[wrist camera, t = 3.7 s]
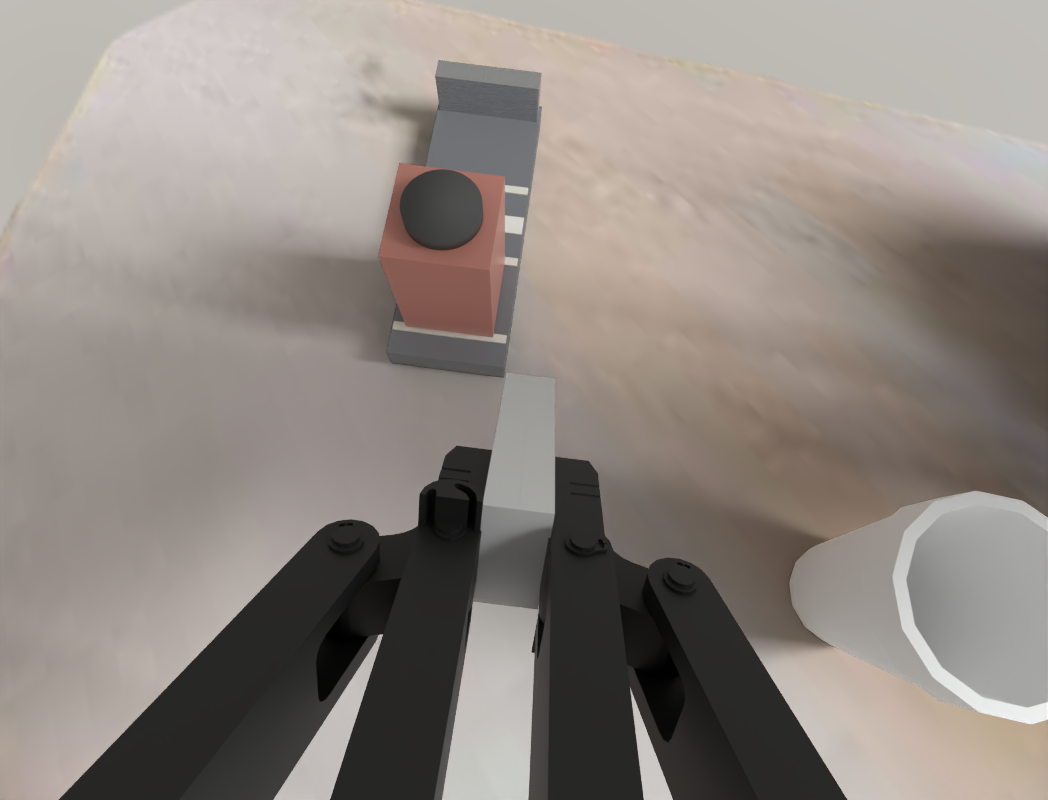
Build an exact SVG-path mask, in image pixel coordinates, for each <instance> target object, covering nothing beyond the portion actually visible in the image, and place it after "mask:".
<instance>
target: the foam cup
mask: <svg viewBox="0 0 1048 800" xmlns="http://www.w3.org/2000/svg"><path fill="white" fill-rule="evenodd" d="M789 586H790V593H791V601H792V606H793V608H794V610H795V611H796V613H797V615H798V616H799V618H800V620H801V622H802V623H803V625H804V627H806V628H807V629H808V630H809V631H811V632H812V633H813V634H815V635H816V636H817V637H819V638H820V639H821V640H823V641H824V642H827V643H828V644H830V645H832V646H834V647H836V648H838V649H840V650H842V651H845V652H847V653H849V654H851V655H853V656H855V657H857V658H859V659H862V660H864V661H866V662H868V663H870V664H872V665H874V666H876V667H878V668H881V669H883V670H885V671H887V672H889V673H891V674H893V675H895V676H898V677H900V678H902V679H904V680H906V681H908V682H910V683H912V684H915V685H917V686H919V687H921V688H922V689H924V690H925V691H926V692H928V693H929V694H930V695H932V696H933V697H934V698H936V699H937V700H938V701H941V702H945V703H948V704H952V705H955V706H959V707H963V708H966V709H970V710H973V711H977V712H980V713H985V714H989V715H993V716H998V717H1002V718H1006V719H1011V720H1015V721H1019V722H1024V723H1028V724H1034V723H1037V722H1041V721H1044V720H1048V517H1046V516H1045V515H1043V514H1042V513H1040V512H1039V511H1037V510H1036V509H1034V508H1033V507H1031V506H1030V505H1029V504H1027V503H1026V502H1024V501H1022V500H1017V499H1012V498H1008V497H1003V496H999V495H994V494H990V493H985V492H980V491H971V492H966V493H961V494H955V495H950V496H945V497H939V498H935V499H931V500H928V501H924V502H920V503H916V504H912V505H908V506H904V507H900V508H899V509H898V510H897V511H896V512H895V513H894V514H893V515H892V516H889V517H886V518H884V519H881V520H879V521H876V522H874V523H871V524H869V525H866V526H864V527H861V528H859V529H856V530H853V531H851V532H848V533H846V534H843V535H841V536H838V537H836V538H833V539H831V540H828V541H826V542H823V543H821V544H818V545H815V546H814V547H812V548H809V549H808V550H807V551H806V552H805V553H804V554H803V555H802V556H801V557H800V558H799V559H798V560H797V561H796V562H795V565H794V568H793V571H792V575H791V578H790V581H789Z"/></svg>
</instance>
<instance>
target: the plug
mask: <svg viewBox="0 0 1048 800" xmlns="http://www.w3.org/2000/svg"><path fill="white" fill-rule="evenodd" d="M378 257H379V259H380V262H381V264H382V267H383V269H384V272H385V274H386V277H387V279H388V282H389V285H390V287H391V290H392V292H393V295H394V297H395V300H396V302H397V305H398V307H399V310H400V312H401V315H402V317H403V320H404V322H405V325H406V326H410V327H418V328H425V329H433V330H441V331H449V332H457V333H464V334H472V335H480V336H488V337H493V335H494V329H495V322H496V316H497V309H498V303H499V296H500V290H501V283H502V277H503V270H504V264H505V176H498V175H490V174H482V173H474V172H466V171H458V170H450V169H442V168H434V167H426V166H418V165H410V164H402V163H399V167H398V171H397V176H396V180H395V185H394V189H393V193H392V198H391V202H390V207H389V211H388V215H387V220H386V224H385V229H384V233H383V237H382V242H381V246H380V251H379V255H378Z"/></svg>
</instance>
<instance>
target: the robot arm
mask: <svg viewBox="0 0 1048 800" xmlns="http://www.w3.org/2000/svg"><path fill="white" fill-rule="evenodd" d="M473 601H475V602H483V603H491V604H500V605H508V606H516V607H524V608H532V609H538V606H539V614H538V619H537V625H536V630H535V636H534V641H533V647H532V652H533V653H535V661H534V685H533V709H532V733H531V756H530V780H529V800H644V799H643V791H642V782H641V774H640V766H639V758H638V750H637V742H636V734H635V725H634V717H633V709H632V701H631V693H630V688H631V690H632V693H633V695H634V698H635V701H636V703H637V706H638V709H639V711H640V714H641V716H642V719H643V722H644V724H645V727H646V730H647V732H648V735H649V737H650V740H651V743H652V745H653V748H654V751H655V753H656V756H657V758H658V761H659V764H660V766H661V769H662V771H663V774H664V777H665V779H666V782H667V785H668V787H669V790H670V792H671V795H672V798H673V800H847V798H846V797H845V795H844V794H843V792H842V790H841V789H840V787H839V786H838V784H837V782H836V781H835V779H834V778H833V776H832V774H831V773H830V771H829V770H828V768H827V766H826V765H825V763H824V762H823V760H822V758H821V757H820V755H819V754H818V752H817V750H816V749H815V747H814V746H813V744H812V742H811V741H810V739H809V738H808V736H807V734H806V733H805V731H804V730H803V728H802V726H801V725H800V723H799V722H798V720H797V718H796V717H795V715H794V714H793V712H792V710H791V709H790V707H789V706H788V704H787V702H786V701H785V699H784V697H783V696H782V694H781V693H780V691H779V689H778V688H777V686H776V685H775V683H774V681H773V680H772V678H771V677H770V675H769V673H768V672H767V670H766V669H765V667H764V665H763V664H762V662H761V661H760V659H759V657H758V656H757V654H756V653H755V651H754V649H753V648H752V646H751V645H750V643H749V641H748V640H747V638H746V637H745V635H744V633H743V632H742V630H741V629H740V627H739V625H738V624H737V622H736V621H735V619H734V617H733V616H732V614H731V613H730V611H729V609H728V608H727V606H726V605H725V603H724V601H723V600H722V598H721V597H720V595H719V593H718V592H717V590H716V589H715V587H714V585H713V584H712V582H711V580H710V579H709V578H708V577H707V576H706V574H705V573H704V572H703V571H702V570H701V569H699V568H698V567H696V566H695V565H693V564H692V563H689V562H686V561H684V560H681V559H675V558H664V559H659V560H656V561H655V562H654V563H652V564H651V565H650V567H649V569H648V568H645V567H643V566H640V565H637V564H635V563H632V562H630V561H628V560H626V559H624V558H622V557H621V556H619V555H618V554H616V553H615V552H614V551H613V548H612V546H611V543H610V541H609V540H608V539H607V538H606V537H605V534H604V525H603V516H602V507H601V499H600V490H599V481H598V473H597V472H596V470H595V469H594V468H593V466H592V465H591V464H590V462H589V461H584V460H576V459H568V458H560V457H555V378H547V377H539V376H531V375H524V374H516V373H508V372H507V373H506V378H505V384H504V389H503V395H502V400H501V406H500V411H499V417H498V422H497V428H496V433H495V438H494V444H493V449H492V450H486V449H478V448H470V447H462V446H456V447H455V448H454V449H452V450H451V451H450V452H449V453H448V454H447V455H446V456H445V459H444V462H443V466H442V470H441V472H440V475H439V480H438V481H435V482H432V483H431V484H429V485H427V486H426V487H424V489H423V490H422V491H421V493H420V498H419V522H418V526H417V527H416V528H414V529H412V530H410V531H407V532H404V533H400V534H395V535H386V536H379V533H378V532H377V530H376V529H375V528H374V527H373V526H372V525H370V524H368V523H366V522H364V521H358V520H342V521H337V522H334V523H331V524H328V525H326V526H325V527H323V528H322V529H321V530H319V531H318V532H317V533H316V534H315V535H314V536H313V537H312V538H311V539H310V540H309V541H308V542H307V543H306V544H305V545H304V546H303V547H302V548H301V549H300V550H299V551H298V553H297V554H296V555H295V556H294V557H293V558H292V559H291V560H290V561H289V562H288V563H287V564H286V565H285V566H284V567H283V568H282V569H281V570H280V571H279V572H278V573H277V574H276V575H275V576H274V577H273V578H272V579H271V580H270V582H269V583H268V584H267V585H266V586H265V587H264V588H263V589H262V590H261V591H260V592H259V593H258V594H257V595H256V596H255V597H254V598H253V599H252V600H251V601H250V602H249V603H248V604H247V605H246V606H245V607H244V608H243V609H242V611H241V612H240V613H239V614H238V615H237V616H236V617H235V618H234V619H233V620H232V621H231V622H230V623H229V624H228V625H227V626H226V627H225V628H224V629H223V630H222V631H221V632H220V633H219V634H218V635H217V636H216V637H215V638H214V640H213V641H212V642H211V643H210V644H209V645H208V646H207V647H206V648H205V649H204V650H203V651H202V652H201V653H200V654H199V655H198V656H197V657H196V658H195V659H194V660H193V661H192V662H191V663H190V664H189V665H188V666H187V667H186V669H185V670H184V671H183V672H182V673H181V674H180V675H179V676H178V677H177V678H176V679H175V680H174V681H173V682H172V683H171V684H170V685H169V686H168V687H167V688H166V689H165V690H164V691H163V692H162V693H161V694H160V695H159V696H158V698H157V699H156V700H155V701H154V702H153V703H152V704H151V705H150V706H149V707H148V708H147V709H146V710H145V711H144V712H143V713H142V714H141V715H140V716H139V717H138V718H137V719H136V720H135V721H134V722H133V723H132V724H131V725H130V727H129V728H128V729H127V730H126V731H125V732H124V733H123V734H122V735H121V736H120V737H119V738H118V739H117V740H116V741H115V742H114V743H113V744H112V745H111V746H110V747H109V748H108V749H107V750H106V751H105V752H104V753H103V754H102V756H101V757H100V758H99V759H98V760H97V761H96V762H95V763H94V764H93V765H92V766H91V767H90V768H89V769H88V770H87V771H86V772H85V773H84V774H83V775H82V776H81V777H80V778H79V779H78V780H77V781H76V782H75V783H74V785H73V786H72V787H71V788H70V789H69V790H68V791H67V792H66V793H65V794H64V795H63V796H62V797H61V798H60V799H59V800H273V799H274V798H275V796H276V795H277V793H278V791H279V790H280V788H281V787H282V785H283V784H284V782H285V781H286V779H287V778H288V776H289V775H290V773H291V771H292V770H293V768H294V767H295V765H296V764H297V762H298V761H299V759H300V758H301V756H302V754H303V753H304V751H305V750H306V748H307V747H308V745H309V744H310V742H311V741H312V739H313V738H314V736H315V734H316V733H317V731H318V730H319V728H320V727H321V725H322V724H323V722H324V721H325V719H326V717H327V716H328V714H329V713H330V711H331V710H332V708H333V707H334V705H335V704H336V702H337V701H338V699H339V697H340V696H341V694H342V693H343V691H344V690H345V688H346V687H347V685H348V684H349V682H350V681H351V679H352V677H353V676H354V674H355V673H356V671H357V670H358V668H359V667H360V665H361V664H362V662H363V660H364V659H365V657H366V656H367V654H368V653H369V651H370V650H371V648H372V647H373V645H374V644H375V642H376V640H377V637H378V635H379V634H383V637H382V640H381V643H380V646H379V649H378V653H377V656H376V659H375V662H374V665H373V668H372V671H371V674H370V677H369V681H368V684H367V687H366V690H365V693H364V696H363V699H362V702H361V705H360V709H359V712H358V715H357V718H356V721H355V724H354V727H353V730H352V733H351V737H350V740H349V743H348V746H347V749H346V752H345V755H344V758H343V762H342V765H341V768H340V771H339V774H338V777H337V780H336V783H335V786H334V790H333V793H332V796H331V799H330V800H442V795H443V789H444V783H445V777H446V770H447V764H448V758H449V752H450V746H451V739H452V733H453V727H454V721H455V715H456V708H457V702H458V696H459V690H460V684H461V677H462V671H463V665H464V659H465V653H466V646H467V640H468V634H469V628H470V622H471V613H472V604H473Z"/></svg>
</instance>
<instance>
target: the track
mask: <svg viewBox="0 0 1048 800" xmlns="http://www.w3.org/2000/svg"><path fill="white" fill-rule="evenodd" d="M435 78H436V85H437V92H438V99H439V105H438V110H437V114H436V119H435V124H434V129H433V133H432V138H431V143H430V148H429V152H428V157H427V162H426V167H434V168H442V169H450V170H458V171H466V172H474V173H482V174H490V175H498V176H505V264H504V270H503V277H502V283H501V290H500V296H499V303H498V309H497V316H496V322H495V329H494V335H493V337H488V336H480V335H472V334H464V333H457V332H449V331H441V330H433V329H425V328H418V327H410V326H406V325H405V322H404V320H403V317H402V315H401V312H400V310H399V307H398V305H397V304H396V309H395V313H394V318H393V323H392V328H391V332H390V337H389V342H388V347H387V351H386V353H387V355H388V356H389V358H390V360H391V362H392V363H397V364H405V365H413V366H421V367H428V368H436V369H444V370H452V371H459V372H467V373H475V374H483V375H490V376H498V377H504V373H505V366H506V359H507V352H508V345H509V338H510V331H511V325H512V318H513V311H514V304H515V297H516V290H517V283H518V276H519V269H520V262H521V255H522V248H523V242H524V235H525V228H526V221H527V214H528V207H529V200H530V193H531V186H532V179H533V172H534V165H535V158H536V152H537V145H538V138H539V131H540V122H541V109H542V107H541V106H539V101H540V87H541V73H538V72H530V71H522V70H514V69H505V68H497V67H489V66H481V65H473V64H465V63H457V62H449V61H441V60H439V61H438V66H437V70H436V75H435Z"/></svg>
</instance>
